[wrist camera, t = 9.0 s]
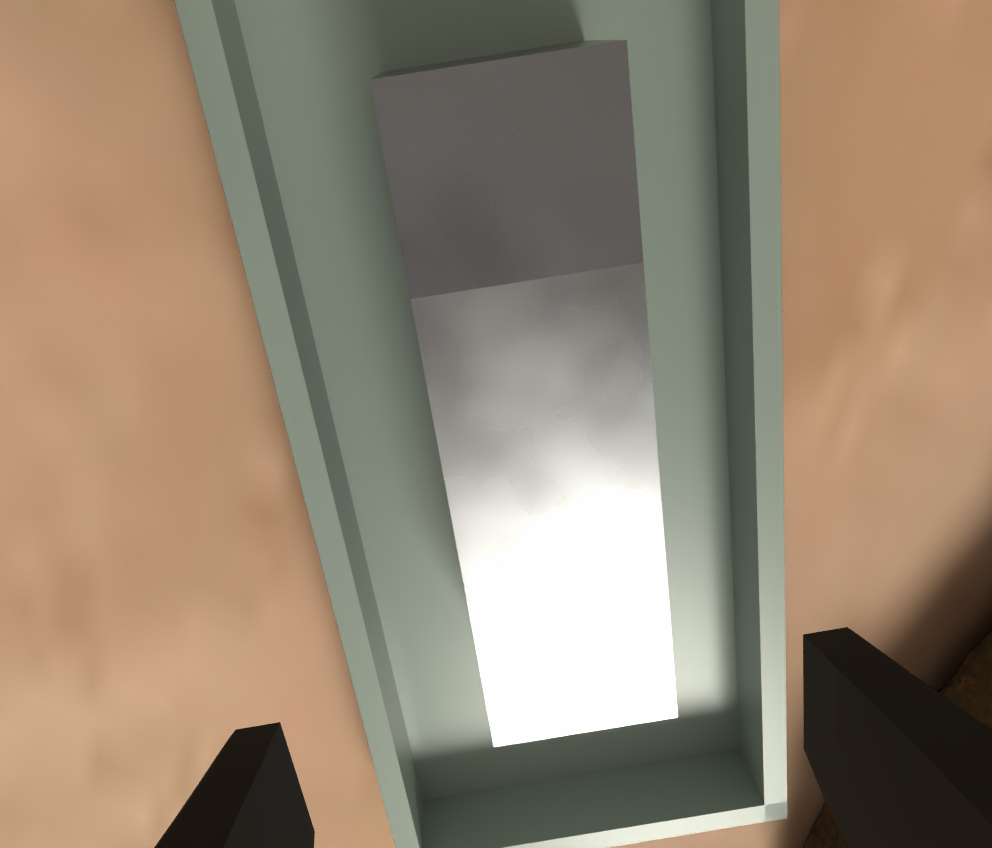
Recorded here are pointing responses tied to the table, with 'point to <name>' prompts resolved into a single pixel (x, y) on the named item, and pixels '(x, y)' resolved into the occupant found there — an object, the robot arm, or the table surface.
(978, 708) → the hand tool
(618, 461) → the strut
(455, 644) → the bin tray
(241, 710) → the table surface
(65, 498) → the table surface
